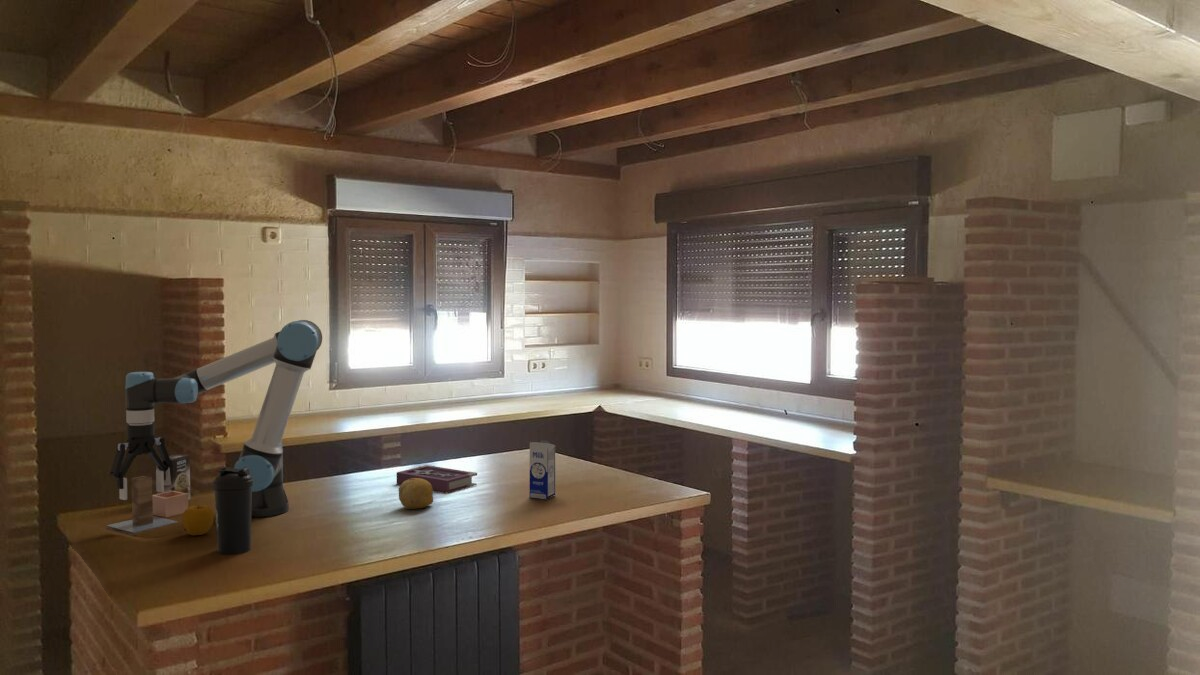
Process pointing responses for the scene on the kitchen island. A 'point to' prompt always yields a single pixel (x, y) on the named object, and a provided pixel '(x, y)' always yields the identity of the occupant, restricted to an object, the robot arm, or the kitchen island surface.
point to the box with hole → (169, 503)
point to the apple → (198, 519)
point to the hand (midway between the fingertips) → (142, 495)
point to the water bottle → (233, 510)
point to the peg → (142, 500)
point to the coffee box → (178, 475)
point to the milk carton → (542, 469)
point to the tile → (134, 528)
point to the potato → (415, 493)
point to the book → (439, 477)
